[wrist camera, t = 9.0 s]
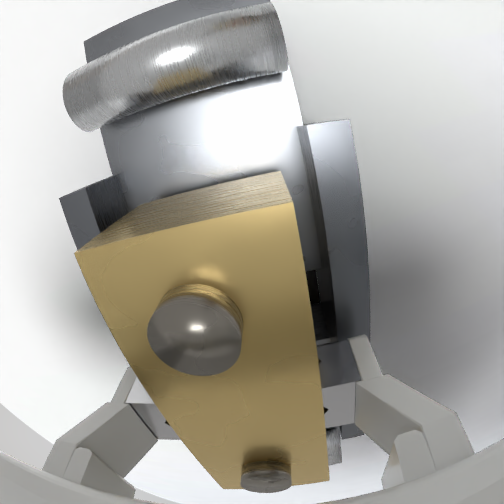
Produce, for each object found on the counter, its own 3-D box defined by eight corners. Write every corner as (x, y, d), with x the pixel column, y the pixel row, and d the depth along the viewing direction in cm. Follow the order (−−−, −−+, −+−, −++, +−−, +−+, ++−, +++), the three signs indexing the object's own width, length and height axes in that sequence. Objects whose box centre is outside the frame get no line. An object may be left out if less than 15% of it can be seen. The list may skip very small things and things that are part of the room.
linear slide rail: (284, 5, 8) (295, -56, 4) (346, 416, 16) (358, 473, 12) (99, 62, 9) (29, 43, 5) (232, 432, 17) (227, 488, 13)
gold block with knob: (280, 170, 8) (297, 213, 4) (320, 412, 11) (330, 493, 8) (140, 204, 8) (57, 267, 4) (230, 422, 12) (221, 501, 8)
